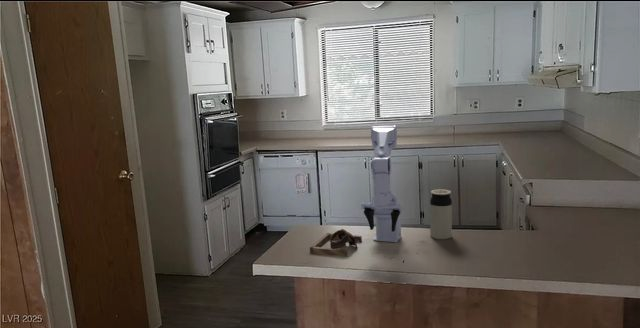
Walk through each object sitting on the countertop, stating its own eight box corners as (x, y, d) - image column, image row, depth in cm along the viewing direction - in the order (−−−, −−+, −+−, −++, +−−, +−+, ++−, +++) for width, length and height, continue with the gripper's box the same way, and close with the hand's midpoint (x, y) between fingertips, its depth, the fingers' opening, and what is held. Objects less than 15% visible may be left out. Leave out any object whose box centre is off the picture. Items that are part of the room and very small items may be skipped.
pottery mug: (361, 253, 170) (351, 236, 167) (338, 264, 171) (328, 248, 168) (355, 235, 181) (346, 219, 177) (334, 246, 182) (324, 230, 179)
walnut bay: (361, 240, 181) (361, 236, 181) (346, 256, 166) (346, 251, 165) (327, 237, 187) (327, 232, 187) (310, 252, 171) (309, 247, 171)
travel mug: (449, 240, 177) (450, 194, 174) (428, 238, 180) (428, 193, 177) (452, 234, 185) (453, 189, 182) (432, 232, 188) (432, 188, 185)
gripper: (358, 193, 161) (359, 231, 163) (400, 195, 155) (400, 235, 157) (364, 188, 167) (365, 225, 169) (404, 190, 161) (405, 228, 164)
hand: (382, 229), depth 164 cm, fingers open, 7 cm apart
